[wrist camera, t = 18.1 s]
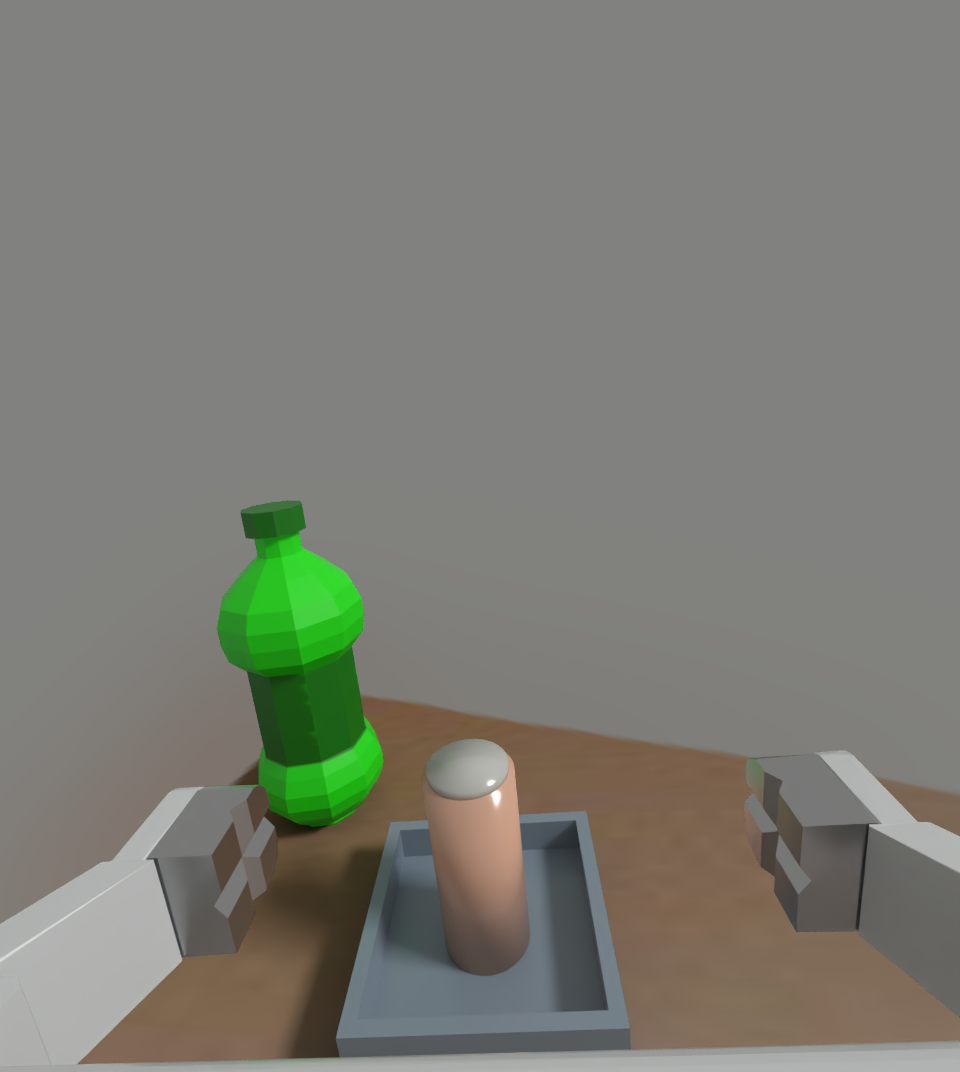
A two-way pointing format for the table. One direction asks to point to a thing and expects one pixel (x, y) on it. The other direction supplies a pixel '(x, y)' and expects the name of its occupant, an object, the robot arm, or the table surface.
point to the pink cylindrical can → (477, 855)
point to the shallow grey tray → (498, 1000)
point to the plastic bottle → (301, 670)
